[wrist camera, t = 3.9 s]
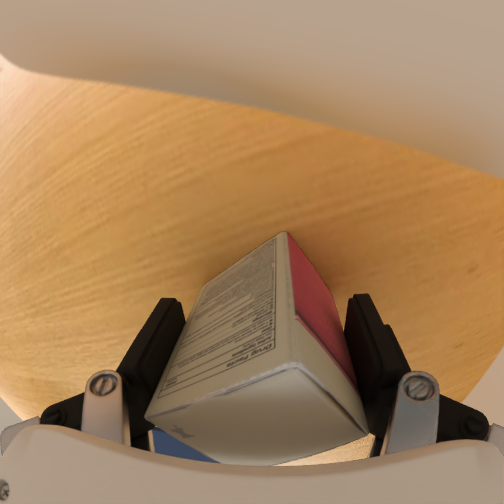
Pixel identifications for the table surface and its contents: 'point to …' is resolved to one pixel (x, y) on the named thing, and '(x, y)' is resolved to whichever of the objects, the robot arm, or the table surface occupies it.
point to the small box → (261, 365)
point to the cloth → (175, 447)
